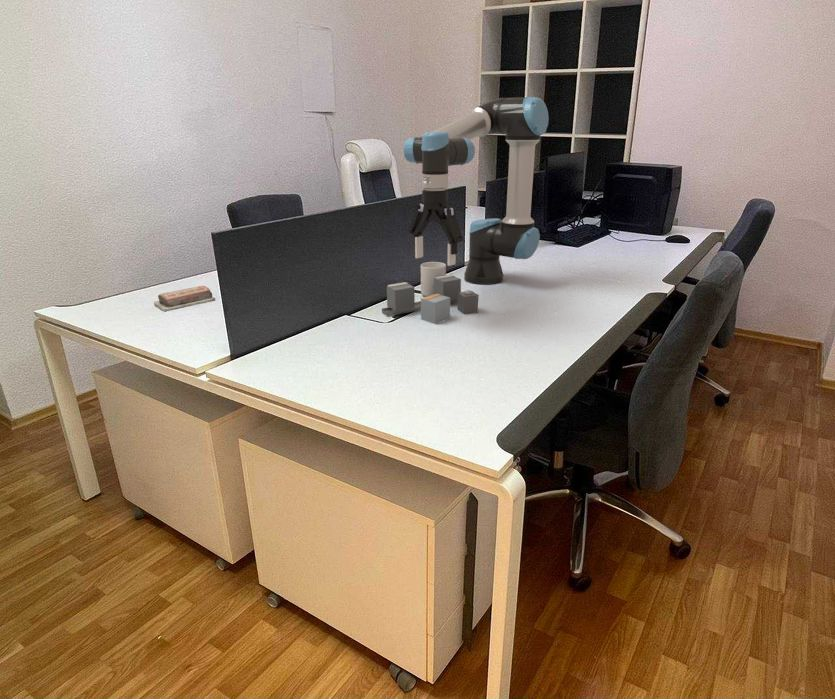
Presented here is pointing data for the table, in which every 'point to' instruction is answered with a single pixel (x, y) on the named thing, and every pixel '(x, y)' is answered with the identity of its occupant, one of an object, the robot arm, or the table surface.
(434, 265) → the mug
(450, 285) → the mounted modules
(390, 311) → the rail
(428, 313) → the block
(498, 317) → the table surface
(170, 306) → the packaged product
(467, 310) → the block
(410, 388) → the table surface
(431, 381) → the table surface
